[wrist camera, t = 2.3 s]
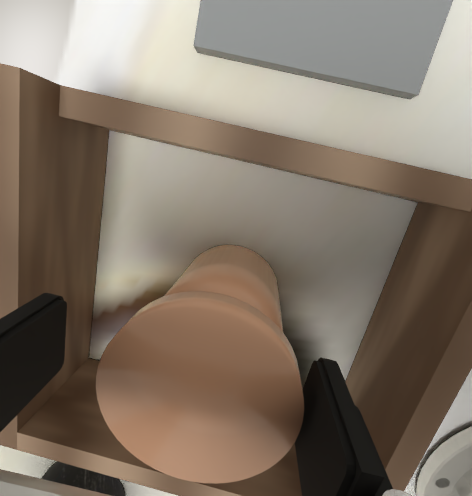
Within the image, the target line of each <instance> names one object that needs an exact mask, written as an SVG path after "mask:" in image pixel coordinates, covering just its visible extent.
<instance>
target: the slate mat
mask: <svg viewBox="0 0 472 496" xmlns="http://www.w3.org/2000/svg"><path fill="white" fill-rule="evenodd" d="M452 2H453V0H201V2H200V8H199V15H198V21H197V27H196V34H195V40H194V47H195V49H196V51H197V52H198V53H202V54H207V55H211V56H216V57H220V58H225V59H229V60H234V61H239V62H243V63H248V64H252V65H257V66H261V67H266V68H270V69H275V70H279V71H284V72H289V73H293V74H298V75H302V76H307V77H311V78H316V79H320V80H325V81H330V82H334V83H339V84H343V85H348V86H352V87H357V88H361V89H366V90H370V91H375V92H380V93H384V94H389V95H393V96H398V97H402V98H407V99H411V98H413V97H415V96H417V95H419V92H420V89H421V86H422V84H423V81H424V78H425V75H426V73H427V70H428V67H429V65H430V62H431V59H432V56H433V54H434V51H435V48H436V45H437V43H438V40H439V37H440V35H441V32H442V29H443V26H444V24H445V21H446V18H447V15H448V13H449V10H450V7H451V5H452Z"/></svg>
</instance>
